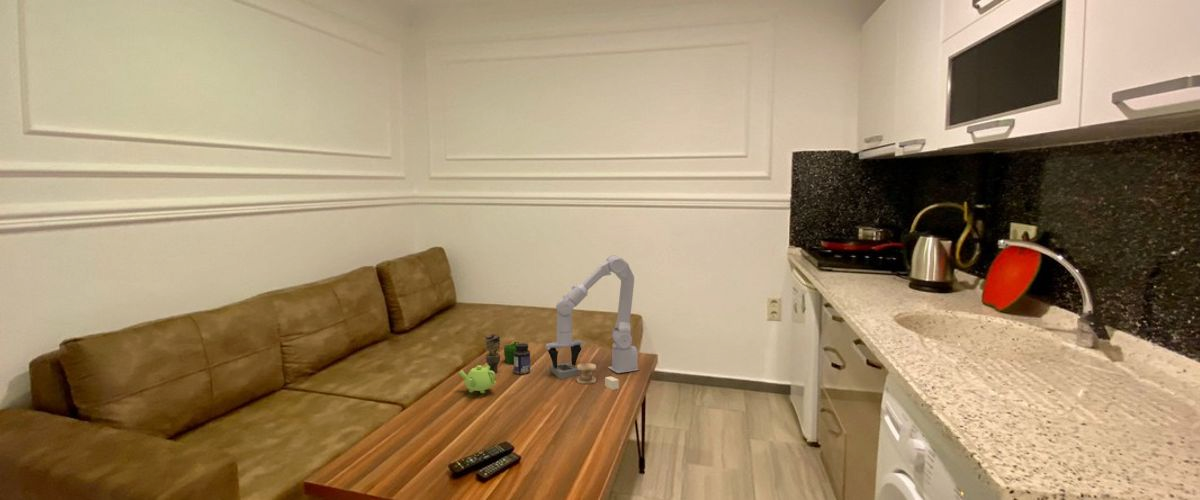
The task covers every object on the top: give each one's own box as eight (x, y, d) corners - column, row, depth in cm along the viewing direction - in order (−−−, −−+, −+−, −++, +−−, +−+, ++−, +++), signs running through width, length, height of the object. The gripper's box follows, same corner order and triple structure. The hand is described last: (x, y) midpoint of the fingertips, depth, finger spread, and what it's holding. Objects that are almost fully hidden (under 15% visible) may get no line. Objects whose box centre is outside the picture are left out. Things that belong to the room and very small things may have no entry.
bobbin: (590, 376, 192) (590, 362, 192) (599, 382, 186) (599, 367, 186) (573, 379, 189) (573, 364, 188) (582, 385, 183) (582, 369, 182)
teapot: (501, 391, 175) (501, 367, 175) (468, 398, 169) (468, 372, 169) (489, 382, 185) (489, 359, 184) (457, 388, 179) (457, 364, 178)
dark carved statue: (482, 373, 195) (481, 334, 194) (491, 370, 199) (491, 331, 198) (493, 376, 192) (493, 336, 191) (503, 372, 197) (503, 333, 196)
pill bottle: (531, 371, 199) (531, 342, 198) (528, 375, 193) (528, 347, 192) (516, 370, 199) (516, 342, 198) (512, 375, 193) (512, 346, 192)
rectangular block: (610, 385, 184) (610, 376, 183) (618, 388, 180) (618, 379, 179) (604, 386, 182) (604, 377, 182) (612, 390, 178) (612, 381, 178)
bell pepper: (501, 363, 209) (501, 338, 208) (521, 360, 212) (521, 336, 212) (507, 368, 201) (507, 343, 201) (527, 366, 205) (527, 341, 204)
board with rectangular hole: (568, 369, 202) (568, 362, 201) (579, 376, 193) (579, 369, 192) (549, 371, 198) (549, 365, 198) (560, 379, 189) (560, 372, 189)
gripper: (577, 326, 201) (577, 361, 202) (542, 330, 194) (542, 365, 195) (585, 330, 195) (585, 365, 196) (549, 334, 188) (549, 370, 189)
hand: (564, 366), depth 195 cm, fingers open, 7 cm apart
